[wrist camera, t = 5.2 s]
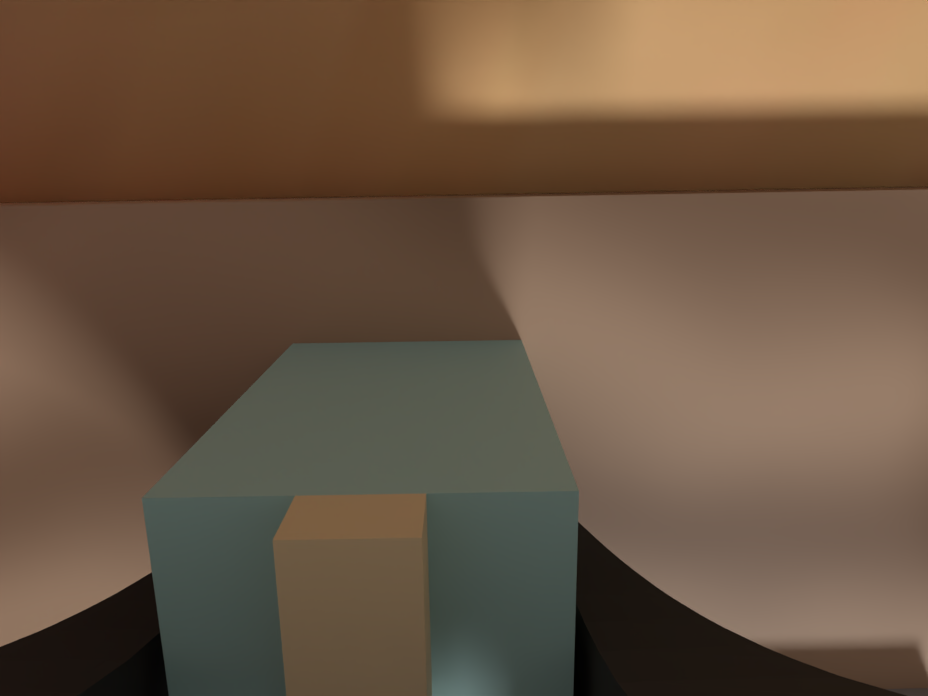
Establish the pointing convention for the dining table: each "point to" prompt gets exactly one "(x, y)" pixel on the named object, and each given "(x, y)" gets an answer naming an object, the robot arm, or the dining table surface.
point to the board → (553, 362)
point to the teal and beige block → (372, 531)
